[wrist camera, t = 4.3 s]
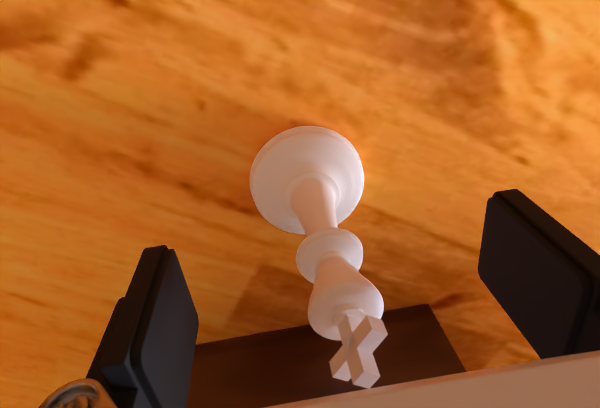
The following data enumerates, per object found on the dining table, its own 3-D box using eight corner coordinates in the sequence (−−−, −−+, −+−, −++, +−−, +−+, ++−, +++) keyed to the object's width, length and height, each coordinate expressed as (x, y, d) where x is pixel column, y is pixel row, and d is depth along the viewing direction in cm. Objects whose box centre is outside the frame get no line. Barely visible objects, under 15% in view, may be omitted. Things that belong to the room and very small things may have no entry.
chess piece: (383, 156, 17) (524, 334, 8) (325, 242, 19) (392, 461, 10) (283, 103, 15) (328, 257, 7) (230, 203, 17) (213, 424, 9)
